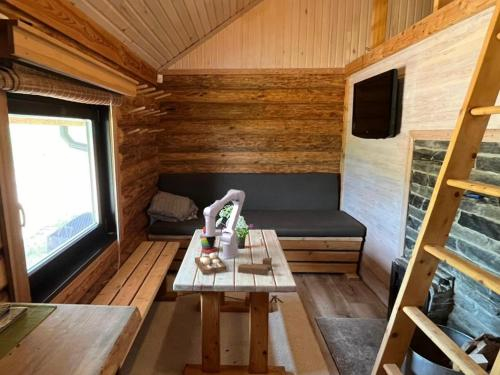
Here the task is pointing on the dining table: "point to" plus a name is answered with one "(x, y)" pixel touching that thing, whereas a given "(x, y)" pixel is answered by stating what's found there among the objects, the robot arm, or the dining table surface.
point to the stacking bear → (207, 245)
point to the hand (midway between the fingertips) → (211, 248)
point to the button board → (210, 266)
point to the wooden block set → (256, 267)
